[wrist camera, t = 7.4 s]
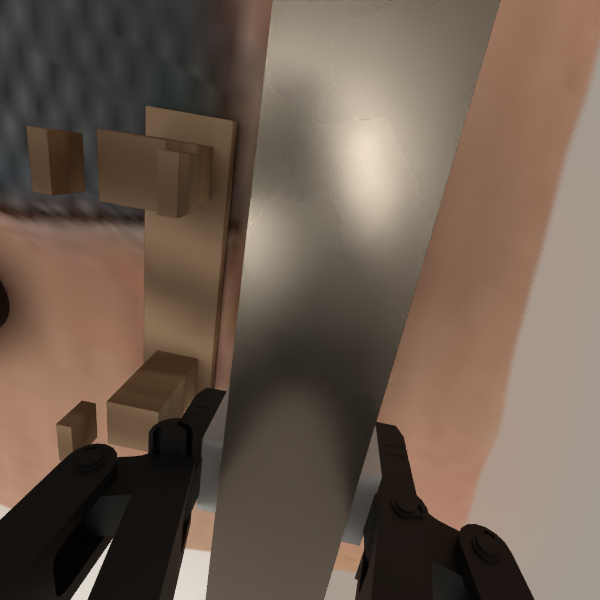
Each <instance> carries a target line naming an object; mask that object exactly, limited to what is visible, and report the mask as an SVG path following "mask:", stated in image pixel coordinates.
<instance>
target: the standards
mask: <svg viewBox="0 0 600 600" xmlns="http://www.w3.org/2000/svg"><path fill="white" fill-rule="evenodd" d="M237 126H238V123H237V122H235V121H231V120H225V119H220V118H214V117H208V116H202V115H197V114H191V113H185V112H179V111H173V110H168V109H162V108H156V107H150V106H146V135H140V134H132V133H125V132H118V131H111V130H104V129H97V150H98V178H99V201H101V202H107V203H112V204H117V205H123V206H128V207H134V208H139V209H144V210H145V267H144V364H143V365H142V366H141V367H140V368H139V369H138V370H137V371H136V372H135V373H134V374H133V375H132V376H131V377H130V378H129V379H128V380H127V381H126V382H125V383H124V384H123V385H122V386H121V388H120V389H119V390H118V391H117V392H116V393H115V394H114V395H113V396H112V397H111V398H110V399H109V400H108V401H107V427H108V443H109V444H114V445H118V446H123V447H127V448H132V449H137V450H141V451H146V452H148V439H149V431H150V430H151V428H152V427H153V426H154V425H155V424H157V423H159V422H160V421H163V420H166V419H170V418H181V416H182V415H183V413H184V411H185V410H186V408H188V406H190V403H191V402H192V400H193V399H194V397H195V396H196V394H198V393H199V392H201V391H202V390H204V389H205V388H211V389H213V388H214V377H215V366H216V355H217V344H218V333H219V323H220V312H221V301H222V290H223V279H224V268H225V257H226V246H227V235H228V224H229V213H230V202H231V192H232V181H233V170H234V159H235V148H236V137H237ZM26 128H27V138H28V148H29V158H30V168H31V178H32V188H33V192H37V193H42V194H47V195H60V194H69V193H78V192H85V178H84V158H83V138H82V133H76V132H71V131H65V130H57V129H49V128H40V127H32V126H26ZM56 428H57V438H58V448H59V458H60V460H62V461H63V460H64V459H65V458H66V457H67V456H68V455H69V454H71V453H72V452H73V451H75V450H76V449H78V448H81V447H83V446H86V445H91V444H92V442H93V441H94V440H95V439H96V438H97V421H96V404H95V403H91V402H86V401H81V402H80V403H79V404H78V405H77V406H76V407H75V408H73V409H72V410H71V411H70V412H69V413H68V414H67V415H66V416H65V417H64V418H62V419H61V420H60V421H59V422H58V423H57V424H56Z"/></svg>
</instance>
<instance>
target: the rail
mask: <svg viewBox="0 0 600 600" xmlns="http://www.w3.org/2000/svg"><path fill="white" fill-rule="evenodd" d="M500 1H501V0H273V4H272V13H271V21H270V30H269V39H268V48H267V57H266V66H265V75H264V84H263V93H262V102H261V111H260V120H259V129H258V137H257V146H256V155H255V164H254V173H253V182H252V191H251V200H250V209H249V218H248V227H247V236H246V245H245V253H244V262H243V271H242V280H241V289H240V298H239V307H238V316H237V325H236V334H235V343H234V352H233V360H232V369H231V378H230V387H229V396H228V405H227V414H226V423H225V432H224V441H223V450H222V459H221V468H220V476H219V485H218V494H217V503H216V512H215V521H214V530H213V539H212V548H211V557H210V566H209V575H208V585H207V593H206V600H324V597H325V594H326V590H327V587H328V584H329V580H330V577H331V573H332V570H333V567H334V563H335V560H336V557H337V553H338V550H339V546H340V543H341V540H342V536H343V533H344V529H345V526H346V523H347V519H348V516H349V512H350V509H351V506H352V502H353V499H354V495H355V492H356V489H357V485H358V482H359V479H360V475H361V472H362V468H363V465H364V462H365V458H366V455H367V451H368V448H369V445H370V441H371V438H372V434H373V431H374V428H375V424H376V421H377V418H378V414H379V411H380V407H381V404H382V401H383V397H384V394H385V390H386V387H387V384H388V380H389V377H390V373H391V370H392V367H393V363H394V360H395V356H396V353H397V350H398V346H399V343H400V340H401V336H402V333H403V329H404V326H405V323H406V319H407V316H408V312H409V309H410V306H411V302H412V299H413V295H414V292H415V289H416V285H417V282H418V279H419V275H420V272H421V268H422V265H423V262H424V258H425V255H426V251H427V248H428V245H429V241H430V238H431V234H432V231H433V228H434V224H435V221H436V218H437V214H438V211H439V207H440V204H441V201H442V197H443V194H444V190H445V187H446V184H447V180H448V177H449V173H450V170H451V167H452V163H453V160H454V156H455V153H456V150H457V146H458V143H459V140H460V136H461V133H462V129H463V126H464V123H465V119H466V116H467V112H468V109H469V106H470V102H471V99H472V95H473V92H474V89H475V85H476V82H477V79H478V75H479V72H480V68H481V65H482V62H483V58H484V55H485V51H486V48H487V45H488V41H489V38H490V34H491V31H492V28H493V24H494V21H495V17H496V14H497V11H498V7H499V4H500Z"/></svg>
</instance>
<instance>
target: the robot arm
mask: <svg viewBox="0 0 600 600" xmlns="http://www.w3.org/2000/svg"><path fill="white" fill-rule="evenodd" d="M229 387H230V386H229ZM228 396H229V388H228V390H227V392H226V391H221V390H216V389H211V388H205V389H204V390H202V391H201V392H199V393H198V394H196V396H195V397H194V399H193V400H192V402H191V403H190V406H188V408H187V409H186V411H185V413H184V414H183V416H182V417H181V418H170V419H166V420H163V421H160V422H159V423H157V424H155V425H154V426H153V427H152V428H151V430H150V431H149V439H148V454H145V455H141V456H132V457H117V453H116V451H115V450H114V448H112V447H110V446H108V445H106V444H91V445H86V446H83V447H81V448H78V449H76V450H75V451H73V452H72V453H71V454H69V455H68V456H67V457H66V458H65V459H64V460H63V461H62V462H61V463H59V464H58V465H57V466H56V467H55V468H54V469H53V470H52V471H51V472H50V473H49V474H48V475H47V476H46V477H45V478H44V479H43V480H42V481H41V482H40V483H38V484H37V485H36V486H35V487H34V488H33V489H32V490H31V491H30V492H29V493H28V494H27V495H26V496H25V497H24V498H23V499H22V500H21V501H20V502H19V503H17V504H16V505H15V506H14V507H13V508H12V509H11V510H10V511H9V512H8V513H7V514H6V515H5V516H4V517H3V518H2V519H1V520H0V600H70V599H71V598H72V596H73V595H74V593H75V592H76V591H77V589H78V588H79V586H80V585H81V583H82V582H83V581H84V579H85V578H86V576H87V575H88V573H89V572H90V570H91V569H92V568H93V566H94V565H95V563H96V562H97V560H98V559H99V557H100V556H101V554H102V553H103V551H104V550H105V549H106V547H107V546H108V544H109V543H110V542H111V540H112V539H113V540H112V543H111V545H110V547H109V550H108V552H107V555H106V557H105V560H104V562H103V564H102V566H101V569H100V571H99V574H98V576H97V578H96V581H95V583H94V586H93V588H92V590H91V593H90V595H89V598H88V600H173V598H174V593H175V589H176V585H177V580H178V575H179V571H180V567H181V563H182V558H183V554H184V549H185V545H186V541H187V536H188V532H189V527H190V523H191V512H192V509H193V507H194V505H195V502H196V500H197V509H199V510H204V511H208V512H212V513H215V512H216V503H217V494H218V485H219V476H220V468H221V459H222V450H223V441H224V432H225V423H226V414H227V405H228ZM363 534H364V552H363V555H362V558H361V561H360V564H359V567H358V570H357V573H356V576H355V579H357V580H358V582H357V590H356V597H355V600H534V598H533V596H532V594H531V591H530V590H529V587H528V585H527V583H526V581H525V579H524V577H523V575H522V573H521V571H520V569H519V567H518V565H517V563H516V561H515V559H514V557H513V555H512V553H511V551H510V550H509V548H508V547H507V545H506V544H505V542H504V541H503V540H502V539H501V538H500V537H499V536H498V535H497V534H495V533H494V532H492V531H491V530H489V529H487V528H486V527H483V526H480V525H477V524H467V525H465V526H464V527H462V528H461V530H460V531H458V530H456V529H454V528H452V527H450V526H448V525H446V524H444V523H442V522H440V521H438V520H437V519H435V518H434V517H432V516H431V515H430V514H429V513H428V510H427V507H426V506H425V504H424V503H423V501H422V500H421V499H420V498H419V497H418V496H417V495H416V491H415V486H414V482H413V477H412V473H411V468H410V464H409V460H408V455H407V450H406V446H405V441H404V437H403V435H402V434H401V433H400V431H399V430H398V428H397V427H396V426H393V425H389V424H384V423H379V422H376V424H375V428H374V431H373V434H372V438H371V441H370V445H369V448H368V451H367V455H366V458H365V462H364V465H363V468H362V472H361V475H360V479H359V482H358V485H357V489H356V492H355V495H354V499H353V502H352V506H351V509H350V512H349V516H348V519H347V523H346V526H345V529H344V533H343V536H342V540H341V541H342V542H346V543H351V544H355V545H359V546H360V543H361V540H362V537H363ZM113 537H114V538H113Z"/></svg>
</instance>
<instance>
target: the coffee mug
mask: <svg viewBox="0 0 600 600" xmlns="http://www.w3.org/2000/svg"><path fill="white" fill-rule="evenodd" d="M8 313H9V301H8V297H7V293H6V291H5V289H4V286H3V285H2V283H1V281H0V327H1V326H2V325H3V324H4V323H5V321H6V319H7V317H8Z"/></svg>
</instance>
